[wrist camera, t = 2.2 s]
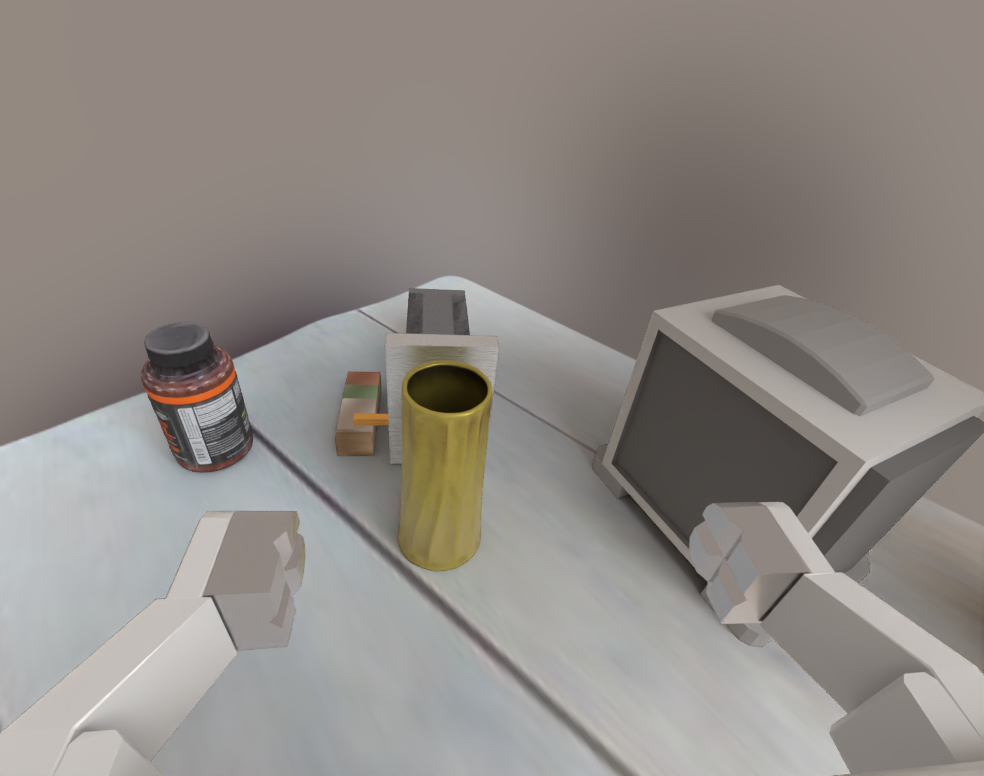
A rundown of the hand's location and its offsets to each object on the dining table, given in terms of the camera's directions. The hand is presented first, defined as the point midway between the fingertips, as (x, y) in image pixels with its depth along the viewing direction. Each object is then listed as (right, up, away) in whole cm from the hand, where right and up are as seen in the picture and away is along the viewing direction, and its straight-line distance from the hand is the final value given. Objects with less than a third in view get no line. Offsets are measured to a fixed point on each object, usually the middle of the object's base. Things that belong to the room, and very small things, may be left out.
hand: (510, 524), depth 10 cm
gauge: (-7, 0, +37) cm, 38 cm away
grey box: (+18, -8, +32) cm, 37 cm away
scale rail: (-13, 0, +36) cm, 38 cm away
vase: (-4, -8, +28) cm, 29 cm away
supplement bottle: (-24, -3, +32) cm, 40 cm away
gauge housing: (-6, +5, +44) cm, 45 cm away
